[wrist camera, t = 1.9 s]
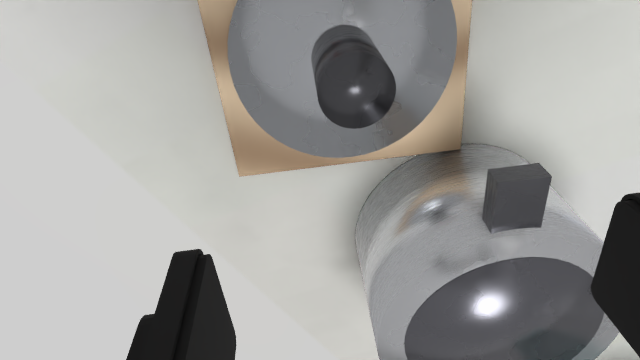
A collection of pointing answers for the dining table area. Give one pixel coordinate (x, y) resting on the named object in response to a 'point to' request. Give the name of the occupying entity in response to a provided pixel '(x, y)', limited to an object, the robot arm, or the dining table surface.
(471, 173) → the pot
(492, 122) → the dining table surface
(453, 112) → the trivet
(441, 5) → the lid
